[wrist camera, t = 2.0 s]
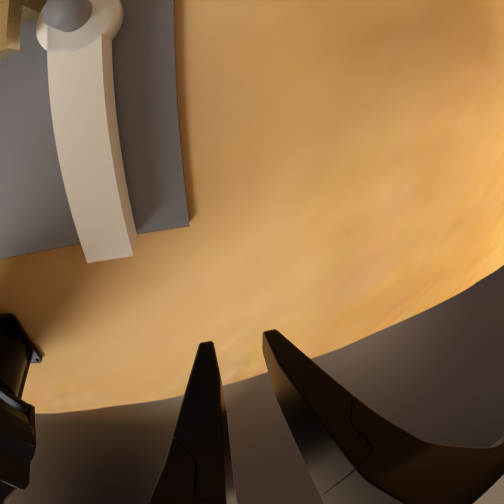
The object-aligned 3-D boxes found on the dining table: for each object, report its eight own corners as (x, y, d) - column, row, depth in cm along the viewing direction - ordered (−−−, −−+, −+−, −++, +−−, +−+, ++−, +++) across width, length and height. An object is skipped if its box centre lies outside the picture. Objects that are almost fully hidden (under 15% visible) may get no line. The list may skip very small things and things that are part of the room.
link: (54, 4, 8) (24, -13, 5) (124, -17, 9) (111, -44, 6) (86, 244, 17) (70, 283, 14) (147, 234, 18) (142, 272, 14)
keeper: (47, 54, 11) (5, 48, 6) (-2, 75, 10) (-48, 80, 6) (51, -20, 8) (18, -44, 3) (2, 3, 7) (-39, -8, 3)
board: (189, 222, 19) (189, 226, 19) (-35, 263, 15) (-38, 267, 15) (176, -72, 8) (177, -76, 7) (-72, 36, 4) (-76, 36, 3)
